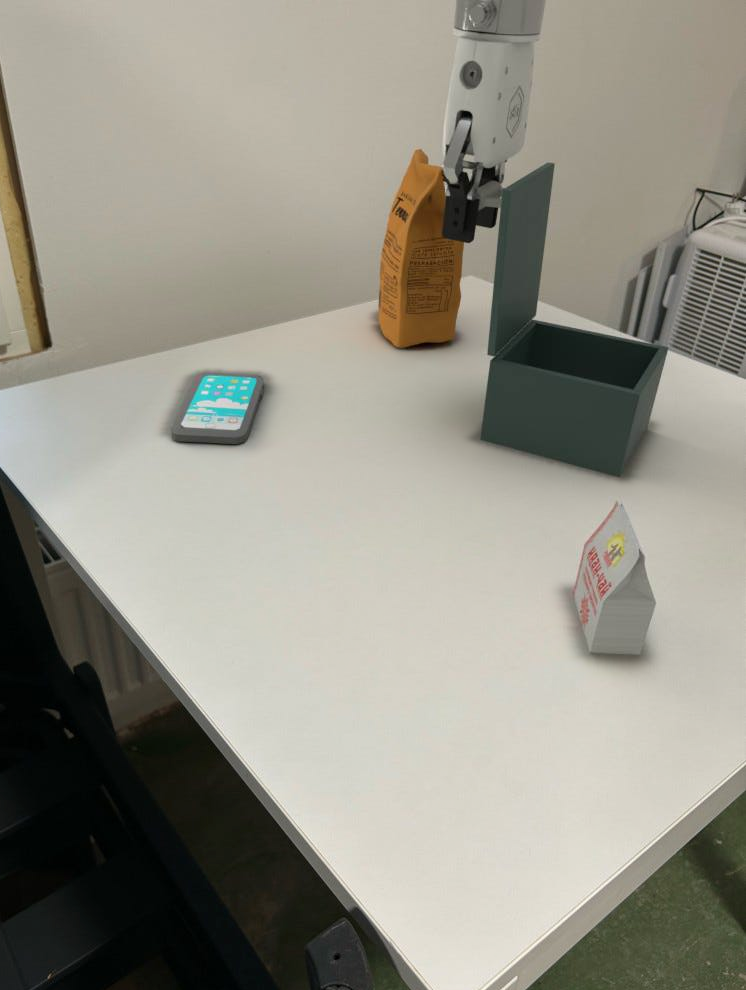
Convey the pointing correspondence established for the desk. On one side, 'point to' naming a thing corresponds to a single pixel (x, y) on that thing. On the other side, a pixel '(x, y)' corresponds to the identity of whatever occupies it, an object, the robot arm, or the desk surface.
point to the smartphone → (218, 408)
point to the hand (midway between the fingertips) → (469, 230)
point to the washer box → (572, 395)
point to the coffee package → (419, 262)
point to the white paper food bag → (614, 588)
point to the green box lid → (517, 251)
